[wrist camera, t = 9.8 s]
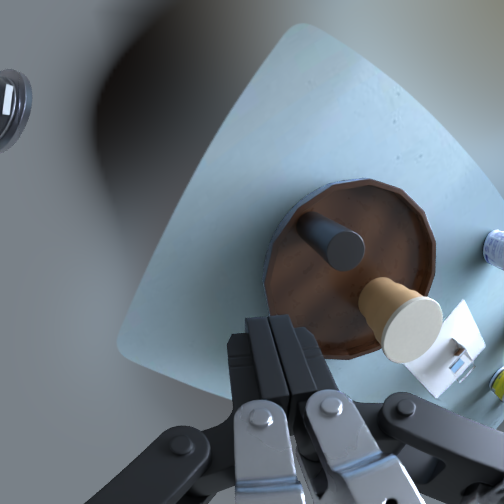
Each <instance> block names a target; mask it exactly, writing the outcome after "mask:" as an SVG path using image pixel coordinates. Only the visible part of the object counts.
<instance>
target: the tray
mask: <svg viewBox="0 0 504 504" xmlns="http://www.w3.org/2000/svg"><path fill="white" fill-rule="evenodd" d="M435 265H436V241H435V238H434V235H433V232H432V230H431V227H430V224H429V222H428V219H427V216H426V214H425V212H424V210H423V209H422V208H421V207H420V206H419V205H418V204H417V203H416V202H415V201H414V200H413V199H412V198H411V197H410V196H409V195H408V194H407V193H406V192H405V191H404V190H403V189H401V188H398V187H395V186H392V185H389V184H385V183H382V182H379V181H376V180H373V179H368V178H360V179H352V180H342V181H338V182H334V183H329V184H327V185H325V186H323V187H320V188H319V189H317V190H315V191H313V192H311V193H310V194H308V195H307V196H306V197H304V198H303V199H302V200H300V201H299V202H298V203H297V204H296V205H295V206H294V207H293V208H292V209H291V210H290V211H289V212H288V213H287V215H286V216H285V217H284V218H283V220H282V221H281V222H280V224H279V226H278V228H277V229H276V231H275V233H274V235H273V237H272V239H271V241H270V244H269V247H268V250H267V254H266V257H265V263H264V273H263V278H262V280H263V285H264V291H265V296H266V300H267V305H268V310H269V314H270V316H275V315H285V314H288V315H289V317H290V319H291V322H292V324H293V327H294V328H297V327H305V328H306V329H307V330H308V331H309V332H311V333H312V334H313V335H314V337H315V339H316V341H317V343H318V346H319V348H320V350H321V352H322V356H323V357H324V359H340V360H350V359H353V358H356V357H359V356H362V355H365V354H369V353H371V352H374V351H377V350H380V349H381V348H382V346H381V344H380V343H379V342H378V341H377V339H376V338H375V335H374V331H373V330H372V329H371V328H370V327H369V325H368V324H367V322H366V318H365V317H364V316H363V315H362V313H361V312H360V310H359V306H358V301H359V296H360V294H361V292H362V290H363V288H364V287H365V286H366V285H367V284H368V283H369V282H370V281H372V280H374V279H376V278H380V277H386V278H389V279H391V280H392V281H394V282H395V283H399V284H402V285H404V286H405V287H406V288H408V289H409V290H414V291H416V292H418V293H419V294H421V295H422V296H424V297H427V296H428V293H429V291H430V288H431V285H432V282H433V279H434V276H435Z"/></svg>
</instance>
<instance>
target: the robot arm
mask: <svg viewBox="0 0 504 504" xmlns="http://www.w3.org/2000/svg"><path fill="white" fill-rule="evenodd" d="M18 102H19V94H18V88H17V86H16V84H15V82H14V81H13V80H12V79H10V78H7V77H1V76H0V140H1V139H2V138H3V137H4V136H5V135H6V134H7V132H8V131H9V129H10V128H11V126H12V124H13V121H14V119H15V116H16V113H17V109H18ZM227 352H228V365H229V376H230V385H231V393H232V401H233V410H232V413H231V415H230V416H229V417H228V419H227V420H225V421H224V422H223V423H221V424H220V425H218V426H216V427H213V428H210V429H207V430H204V431H200V430H198V429H196V428H193V427H190V426H176V427H172V428H170V429H167V430H166V431H164V432H163V433H162V434H161V435H160V436H159V437H158V438H157V439H156V440H154V441H153V442H152V443H151V444H150V445H149V446H148V447H147V448H146V449H145V450H144V451H143V452H142V453H141V454H140V455H139V456H138V457H137V458H135V459H134V460H133V461H132V462H131V463H130V464H129V465H128V466H127V467H126V468H124V469H123V470H122V471H121V472H120V473H119V474H118V475H117V476H116V477H114V478H113V479H112V480H111V481H110V482H109V483H108V484H107V485H105V486H104V487H103V488H102V489H101V490H100V491H99V492H97V493H96V494H95V495H94V496H93V497H92V498H90V499H89V500H88V501H87V502H85V503H84V504H208V503H209V502H210V501H211V499H212V498H213V497H214V496H215V495H216V493H217V492H219V491H222V490H224V489H227V488H230V487H232V486H235V504H306V503H305V497H304V492H303V488H302V485H301V483H300V481H298V479H297V476H296V471H295V465H294V459H293V453H292V447H291V441H290V436H292V435H294V436H295V440H296V443H297V447H296V457H297V459H298V462H299V465H300V467H301V470H302V473H303V475H304V478H305V481H306V483H307V486H308V489H309V491H310V494H311V496H312V499H313V503H314V504H425V502H424V500H423V499H422V497H421V495H420V494H419V493H422V494H424V495H426V496H429V497H431V498H434V499H436V500H439V501H441V502H444V503H446V504H504V433H503V432H501V431H498V430H496V429H493V428H491V427H488V426H486V425H483V424H481V423H478V422H476V421H473V420H471V419H468V418H466V417H464V416H461V415H459V414H456V413H454V412H452V411H449V410H447V409H445V408H442V407H440V406H438V405H436V404H433V403H431V402H429V401H427V400H424V399H422V398H420V397H418V396H416V395H413V394H411V393H407V392H397V393H394V394H392V395H390V396H389V397H387V398H386V400H385V401H384V403H360V402H355V401H352V400H351V398H350V397H349V396H348V395H346V394H345V393H343V392H340V391H339V389H338V388H337V385H336V383H335V381H334V379H333V377H332V374H331V372H330V370H329V368H328V365H327V363H326V361H325V359H324V357H323V356H322V352H321V350H320V348H319V346H318V343H317V341H316V339H315V337H314V335H313V334H312V333H311V332H309V331H308V330H307V329H306V328H305V327H297V328H294V327H293V324H292V322H291V319H290V317H289V315H288V314H285V315H275V316H267V317H254V318H245V333H237V334H232V335H231V337H230V339H229V341H228V343H227Z"/></svg>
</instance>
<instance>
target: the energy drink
mask: <svg viewBox="0 0 504 504" xmlns="http://www.w3.org/2000/svg"><path fill="white" fill-rule="evenodd" d="M483 255H484V258H485V260H486V262H487V263H489V264H491V265H493V266H495V267H497V268H499V269H502V270H504V232H502V231H499V230H493V231H491V232H490V233H489V234H488V236H487V237H486V239H485V242H484V246H483Z"/></svg>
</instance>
